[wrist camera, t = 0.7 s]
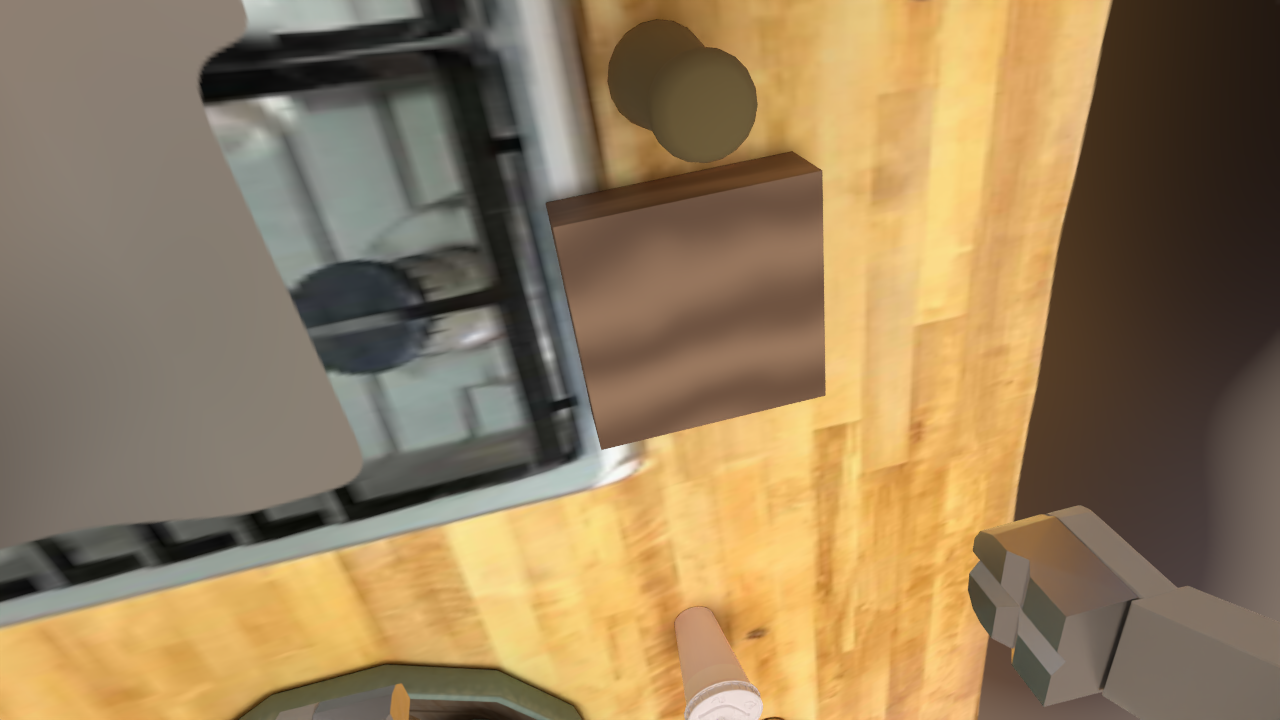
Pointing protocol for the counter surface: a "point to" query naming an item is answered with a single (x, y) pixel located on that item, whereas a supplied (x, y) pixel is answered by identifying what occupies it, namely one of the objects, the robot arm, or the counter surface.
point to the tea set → (432, 694)
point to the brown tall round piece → (682, 91)
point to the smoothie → (712, 671)
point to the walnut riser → (696, 295)
